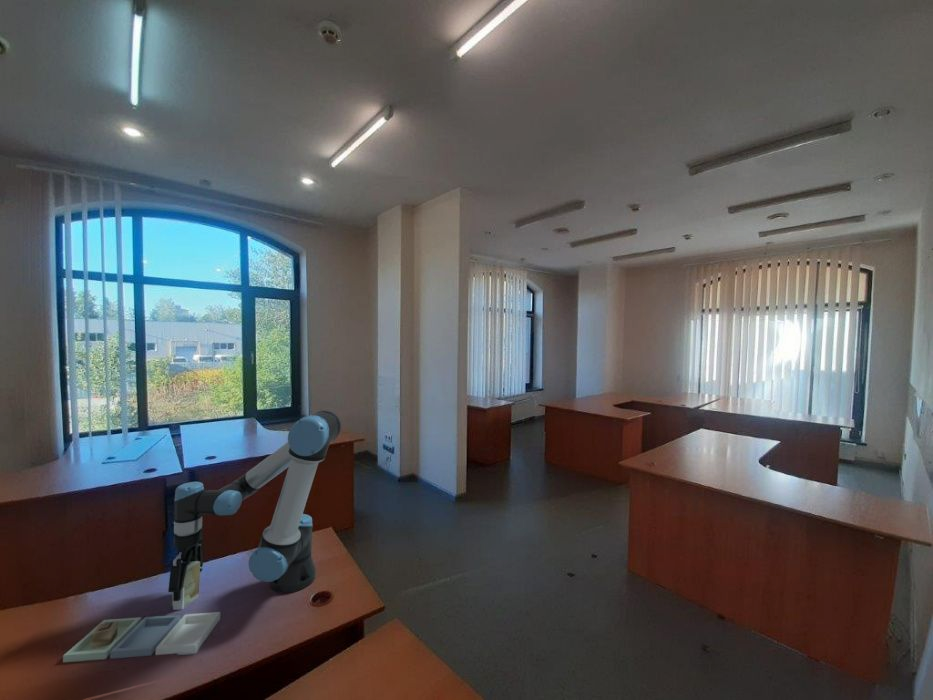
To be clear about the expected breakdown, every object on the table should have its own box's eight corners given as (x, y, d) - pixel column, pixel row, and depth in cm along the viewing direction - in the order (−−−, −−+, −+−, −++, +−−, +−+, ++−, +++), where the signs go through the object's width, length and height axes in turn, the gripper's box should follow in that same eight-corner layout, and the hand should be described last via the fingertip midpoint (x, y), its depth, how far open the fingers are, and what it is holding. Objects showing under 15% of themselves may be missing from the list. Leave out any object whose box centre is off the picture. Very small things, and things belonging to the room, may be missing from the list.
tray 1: (141, 625, 111) (141, 617, 111) (105, 661, 99) (106, 652, 99) (103, 627, 110) (104, 619, 110) (62, 664, 97) (63, 655, 97)
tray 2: (181, 622, 113) (181, 614, 113) (151, 657, 100) (151, 648, 100) (144, 625, 112) (145, 617, 112) (109, 660, 99) (110, 651, 99)
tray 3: (220, 619, 115) (220, 612, 115) (195, 653, 102) (195, 645, 102) (184, 622, 113) (185, 614, 113) (155, 657, 100) (155, 648, 100)
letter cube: (117, 634, 107) (117, 620, 107) (110, 644, 103) (110, 630, 103) (99, 638, 105) (99, 624, 105) (91, 648, 102) (92, 634, 102)
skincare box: (182, 610, 118) (183, 571, 118) (170, 607, 119) (172, 569, 119) (200, 597, 125) (201, 560, 125) (189, 595, 125) (190, 559, 125)
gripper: (193, 517, 131) (191, 582, 131) (154, 547, 112) (152, 623, 111) (216, 517, 132) (214, 581, 132) (181, 546, 113) (179, 621, 112)
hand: (185, 600), depth 122 cm, fingers closed on skincare box, 7 cm apart
